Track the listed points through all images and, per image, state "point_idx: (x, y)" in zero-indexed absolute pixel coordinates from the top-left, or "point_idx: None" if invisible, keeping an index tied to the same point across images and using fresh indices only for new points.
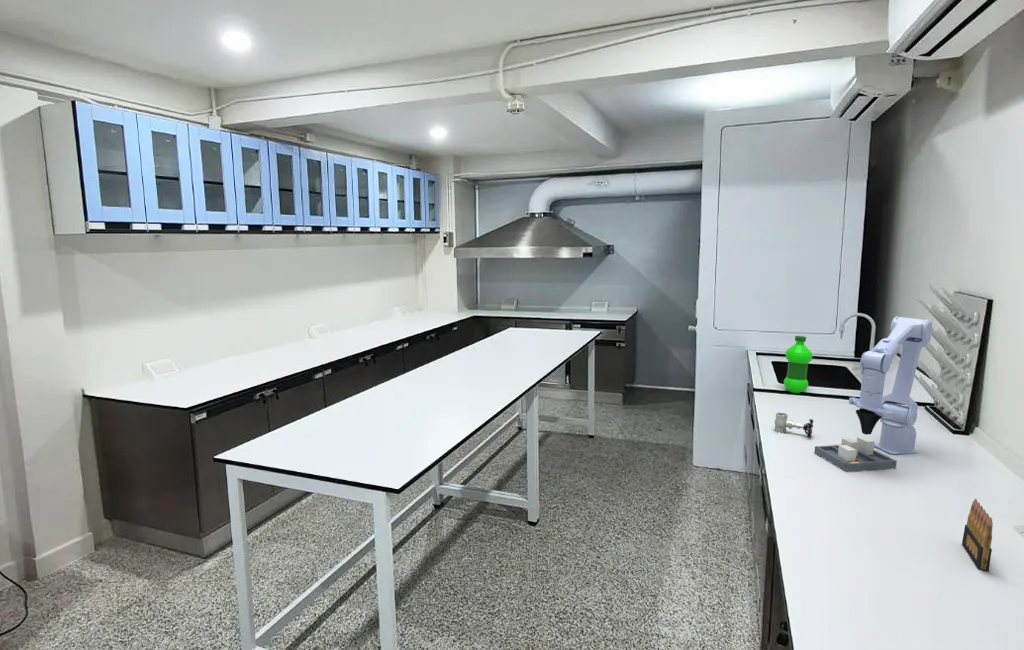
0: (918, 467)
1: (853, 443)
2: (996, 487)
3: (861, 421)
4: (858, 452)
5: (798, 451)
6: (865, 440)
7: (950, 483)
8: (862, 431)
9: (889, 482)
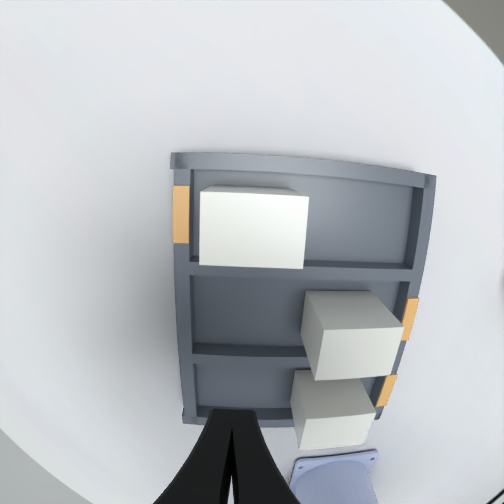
0: None
1: (320, 341)
2: (78, 481)
3: (257, 501)
4: None
5: (445, 119)
6: (326, 424)
7: (80, 435)
8: (243, 419)
9: (67, 270)
